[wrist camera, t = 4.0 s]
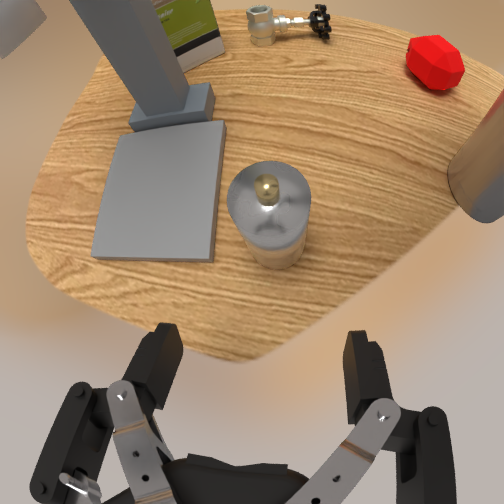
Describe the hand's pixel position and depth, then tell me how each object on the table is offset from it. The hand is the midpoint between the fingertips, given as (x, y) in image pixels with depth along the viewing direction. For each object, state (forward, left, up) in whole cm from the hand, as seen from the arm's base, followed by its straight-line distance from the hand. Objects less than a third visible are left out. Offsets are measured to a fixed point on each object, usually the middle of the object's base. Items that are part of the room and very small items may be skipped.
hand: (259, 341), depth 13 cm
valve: (-26, -33, -13) cm, 44 cm away
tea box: (-12, -43, -13) cm, 47 cm away
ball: (-39, -14, -13) cm, 43 cm away
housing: (-5, -7, -13) cm, 15 cm away
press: (+4, -24, -13) cm, 27 cm away
